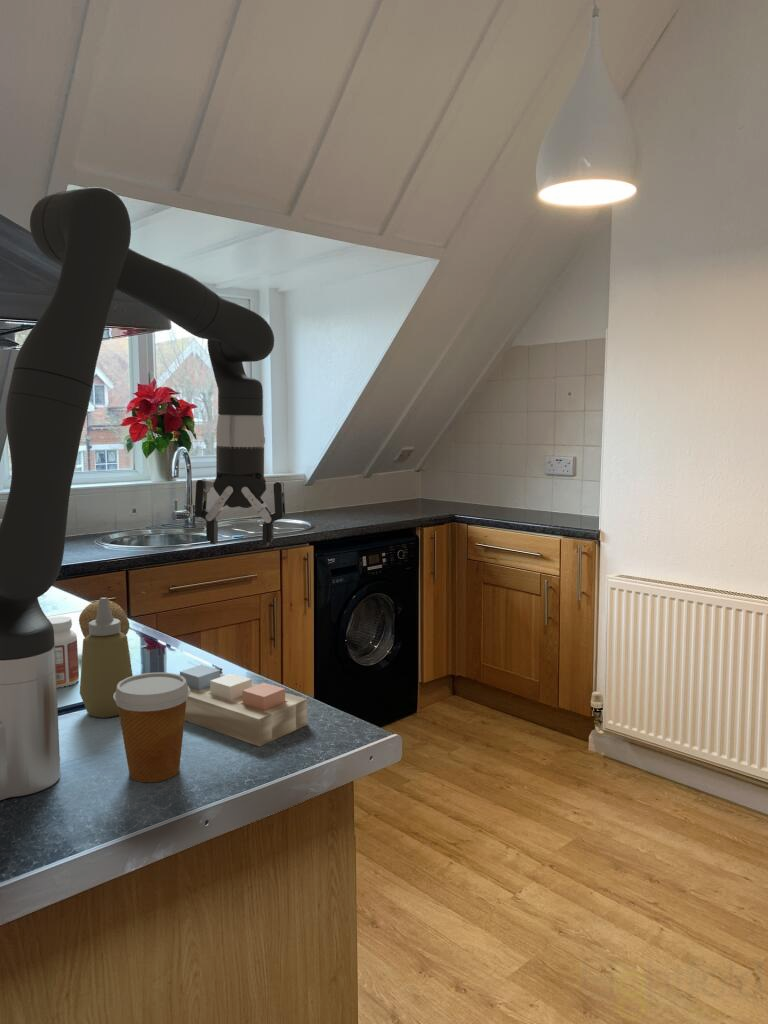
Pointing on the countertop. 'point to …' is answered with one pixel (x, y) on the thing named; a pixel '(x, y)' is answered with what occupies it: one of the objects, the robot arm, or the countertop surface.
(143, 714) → the disposable coffee cup
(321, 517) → the countertop surface
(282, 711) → the key box
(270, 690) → the terracotta key
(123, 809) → the countertop surface
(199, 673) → the slate key
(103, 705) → the squeeze bottle
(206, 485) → the robot arm
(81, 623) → the natural sponge
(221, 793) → the countertop surface
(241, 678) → the white key
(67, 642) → the pill bottle
